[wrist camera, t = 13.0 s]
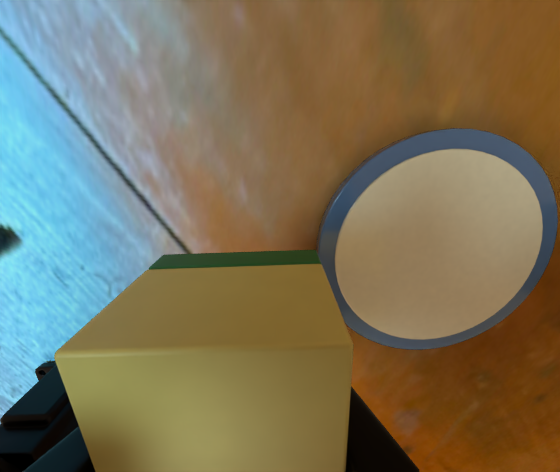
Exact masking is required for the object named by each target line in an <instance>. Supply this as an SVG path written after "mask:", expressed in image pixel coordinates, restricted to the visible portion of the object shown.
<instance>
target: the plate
mask: <svg viewBox="0 0 560 472" xmlns="http://www.w3.org/2000/svg"><path fill="white" fill-rule="evenodd" d="M557 225H558V215H557V204H556V199H555V195H554V191H553V189H552V186H551V184H550V181H549V179H548V177H547V175H546V174H545V172H544V171H543V169H542V167H541V166H540V165H539V163H538V162H537V161H536V160H535V159H534V158H533V157H532V156H531V155H530V154H529V153H528V152H527V151H525V150H524V149H523V148H521V147H520V146H519V145H517V144H516V143H514V142H512V141H510V140H508V139H506V138H504V137H502V136H499V135H496V134H493V133H490V132H487V131H481V130H475V129H462V128H452V129H443V130H434V131H427V132H423V133H419V134H415V135H411V136H408V137H405V138H403V139H400V140H398V141H395V142H393V143H391V144H389V145H387V146H386V147H384V148H382V149H380V150H378V151H377V152H375V153H374V154H373V155H371V156H370V157H368V158H367V159H366V160H364V161H363V162H362V163H361V164H360V165H359V166H358V167H356V168H355V169H354V170H353V171H352V172H351V173H350V174H349V176H348V177H347V178H346V179H345V180H344V181H343V182H342V184H341V185H340V186H339V188H338V189H337V191H336V192H335V194H334V195H333V197H332V198H331V200H330V202H329V204H328V206H327V208H326V210H325V212H324V215H323V218H322V221H321V224H320V227H319V232H318V237H317V245H316V251H317V253H318V256H319V258H320V261H321V263H322V266H323V269H324V271H325V274H326V276H327V279H328V281H329V284H330V286H331V289H332V292H333V294H334V297H335V299H336V302H337V304H338V307H339V309H340V312H341V314H342V317H343V319H344V322H345V324H346V325H347V326H348V327H350V328H351V329H353V330H354V331H355V332H357V333H358V334H360V335H362V336H363V337H365V338H367V339H369V340H371V341H374V342H376V343H379V344H381V345H385V346H389V347H393V348H400V349H409V350H423V349H435V348H440V347H445V346H449V345H453V344H456V343H460V342H463V341H465V340H468V339H470V338H473V337H475V336H477V335H479V334H481V333H483V332H485V331H487V330H488V329H490V328H491V327H493V326H495V325H496V324H498V323H499V322H501V321H502V320H503V319H504V318H506V317H507V316H508V315H509V314H511V313H512V312H513V311H514V310H515V309H516V308H517V307H518V306H519V305H520V304H521V303H522V302H523V301H524V300H525V299H526V298H527V296H528V295H529V294H530V293H531V292H532V290H533V289H534V287H535V286H536V284H537V283H538V281H539V280H540V278H541V277H542V275H543V273H544V271H545V269H546V267H547V265H548V263H549V260H550V257H551V255H552V252H553V249H554V244H555V240H556V236H557Z"/></svg>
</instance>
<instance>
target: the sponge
mask: <svg viewBox="0 0 560 472" xmlns="http://www.w3.org/2000/svg"><path fill="white" fill-rule="evenodd" d="M353 346H354V345H353V342H352V340H351V337H350V335H349V332H348V330H347V327H346V325H345V322H344V319H343V317H342V314H341V312H340V309H339V307H338V304H337V302H336V299H335V297H334V294H333V292H332V289H331V286H330V284H329V281H328V279H327V276H326V274H325V271H324V269H323V266H322V263H321V261H320V258H319V256H318V253H317V251H316V250H292V251H263V252H234V253H204V254H175V255H163V256H162V257H161V258H159V259H158V260H157V261H156V262H155V263H154V264H153V265H152V266H150V267H149V270H147V271H145V272H144V273H143V274H142V275H141V276H140V277H138V278H137V279H136V280H135V281H134V282H133V283H132V284H131V285H130V286H128V287H127V288H126V289H125V290H124V291H123V292H122V293H121V294H120V295H118V296H117V297H116V298H115V299H114V300H113V301H112V302H111V303H110V304H108V305H107V306H106V307H105V308H104V309H103V310H102V311H101V312H100V313H98V314H97V315H96V316H95V317H94V318H93V319H92V320H91V321H90V322H88V323H87V324H86V325H85V326H84V327H83V328H82V329H81V330H80V331H78V332H77V333H76V334H75V335H74V336H73V337H72V338H71V339H70V340H68V341H67V342H66V343H65V344H64V345H63V346H62V347H61V348H60V349H58V350H57V351H56V353H55V357H54V359H55V361H56V364H57V367H58V370H59V372H60V375H61V378H62V381H63V383H64V386H65V389H66V392H67V394H68V397H69V400H70V403H71V405H72V408H73V411H74V414H75V417H76V419H77V422H78V425H79V428H80V430H81V433H82V436H83V439H84V441H85V444H86V447H87V450H88V452H89V455H90V458H91V461H92V463H93V466H94V469H95V472H346V456H347V441H348V425H349V409H350V393H351V377H352V362H353Z"/></svg>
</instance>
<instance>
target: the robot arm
mask: <svg viewBox="0 0 560 472" xmlns="http://www.w3.org/2000/svg"><path fill="white" fill-rule="evenodd" d="M35 373H36V375H37V378H38V380H39V382H38V383H36V384H35V385H34V386H33V387H32V388H31V389H30V390H29V391H28V392H27V393H26V394H25V395H24V396H23V397H22V398H21V399H20V400H19V401H18V402H17V403H16V404H14V405H13V406H12V407H11V408H10V409H9V410H8V411H7V412H6V413H5V414H4V415H3V417H2V418H1V419H0V422H1V424H0V472H95V469H94V466H93V463H92V461H91V458H90V455H89V452H88V450H87V447H86V444H85V441H84V439H83V436H82V433H81V430H80V428H79V425H78V422H77V419H76V417H75V414H74V411H73V408H72V405H71V403H70V400H69V397H68V394H67V392H66V389H65V386H64V383H63V381H62V378H61V375H60V372H59V370H58V367H57V364H56V363H43V364H41V365H40V366H39V367H38V368H37V369H36V370H35ZM346 472H419V469H418V468H417V466H416V465H415V464H414V463H413V462H412V460H411V459H410V458H409V457H408V455H407V454H406V453H405V452H404V451H403V449H402V448H401V447H400V446H399V444H398V443H397V442H396V441H395V439H394V438H393V437H392V436H391V435H390V433H389V432H388V431H387V430H386V428H385V427H384V426H383V425H382V423H381V422H380V421H379V420H378V419H377V417H376V416H375V415H374V414H373V412H372V411H371V410H370V409H369V408H368V406H367V405H366V404H365V403H364V401H363V400H362V399H361V398H360V396H359V395H358V394H357V393H356V392H355V390H354V389H353V388H352V387H351V393H350V409H349V425H348V441H347V456H346Z"/></svg>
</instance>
